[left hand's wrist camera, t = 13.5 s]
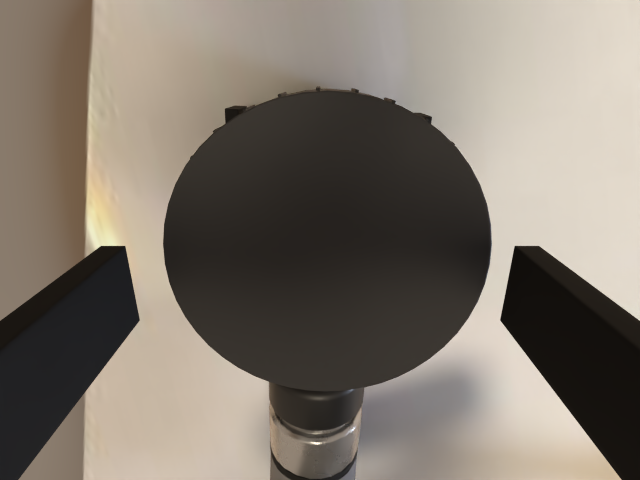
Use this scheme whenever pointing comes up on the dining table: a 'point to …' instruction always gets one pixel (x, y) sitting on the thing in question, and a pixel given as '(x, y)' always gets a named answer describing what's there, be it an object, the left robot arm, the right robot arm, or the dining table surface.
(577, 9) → the dining table surface
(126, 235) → the dining table surface
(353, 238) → the lid
